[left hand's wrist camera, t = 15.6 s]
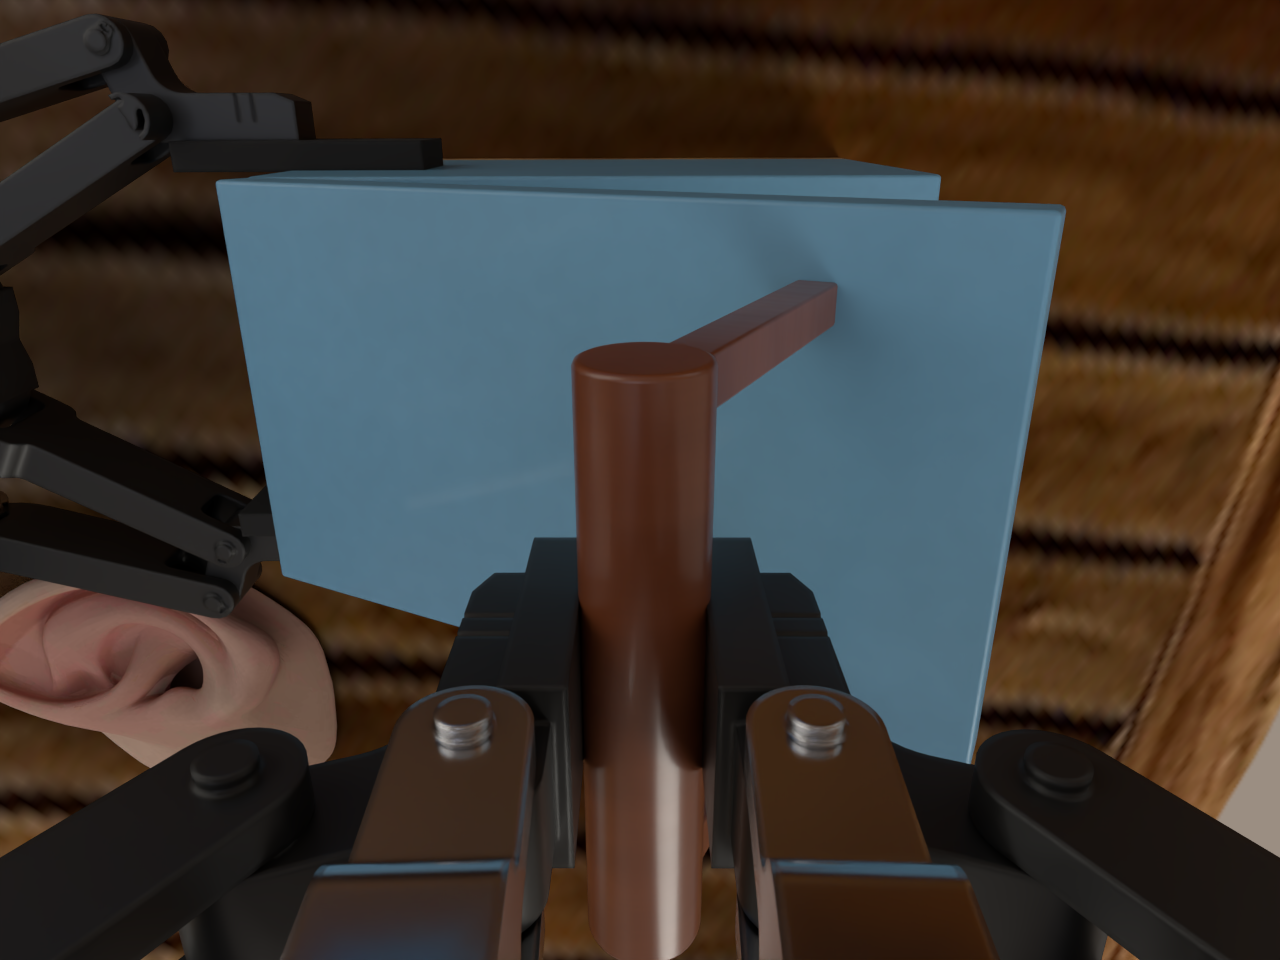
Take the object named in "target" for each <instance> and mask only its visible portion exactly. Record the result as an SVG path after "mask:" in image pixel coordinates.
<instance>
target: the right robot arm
mask: <svg viewBox="0 0 1280 960" xmlns="http://www.w3.org/2000/svg"><path fill="white" fill-rule="evenodd" d="M168 54H169V49H168V45H167V41H166V40H165V38H164V37H163V35H162V33H161V32H160V31H158V30H157V29H156V28H155V27H153V26H151V25H148V24H145V23H140V22H135V21H130V20H125V19H120V18H115V17H110V16H105V15H100V14H88V15H84V16H81V17H78V18H75V19H72V20H69V21H66V22H63V23H60V24H57V25H54V26H51V27H48V28H45V29H42V30H39V31H36V32H33V33H30V34H27V35H24V36H21V37H18V38H15V39H12V40H9V41H6V42H3V43H1V44H0V122H2V121H5V120H8V119H11V118H14V117H18V116H21V115H24V114H27V113H30V112H33V111H36V110H39V109H42V108H45V107H48V106H51V105H54V104H57V103H60V102H63V101H66V100H69V99H73V98H76V97H79V96H82V95H85V94H88V93H91V92H94V91H97V90H100V89H103V88H106V87H109V89H110V91H111V93H112V94H110V95H108V96H109V97H110V98H111V99H112V100H116V102H115V103H113V104H112V105H110V106H109V107H107V108H106V109H105V110H103V111H102V112H100V113H99V114H97V115H96V116H95V117H93V118H92V119H90V120H89V121H87V122H86V123H85V124H83V125H82V126H80V127H79V128H77V129H76V130H74V131H73V132H72V133H70V134H69V135H67V136H66V137H64V138H63V139H62V140H60V141H59V142H57V143H56V144H54V145H53V146H52V147H50V148H49V149H47V150H46V151H44V152H43V153H42V154H40V155H39V156H37V157H36V158H34V159H33V160H31V161H30V162H29V163H27V164H26V165H24V166H23V167H21V168H20V169H19V170H17V171H16V172H14V173H13V174H11V175H10V176H9V177H7V178H6V179H4V180H3V181H1V182H0V275H2V274H3V273H5V272H6V271H8V270H9V269H10V268H12V267H13V266H15V265H16V264H18V263H19V262H21V261H22V260H24V259H25V258H27V257H28V256H30V255H31V254H32V253H34V251H35V249H34V248H35V247H36V246H38V245H39V244H41V243H42V242H44V241H45V240H47V239H48V238H50V237H51V236H53V235H54V234H56V233H57V232H58V231H60V230H61V229H63V228H64V227H66V226H67V225H69V224H70V223H72V222H73V221H75V220H76V219H78V218H79V217H81V216H82V215H84V214H85V213H87V212H88V211H90V210H91V209H93V208H94V207H96V206H97V205H98V204H100V203H101V202H103V201H104V200H106V199H107V198H109V197H110V196H112V195H113V194H115V193H116V192H118V191H119V190H121V189H122V188H124V187H125V186H127V185H128V184H130V183H131V182H133V181H134V180H136V179H137V178H138V177H140V176H141V175H143V174H144V173H146V172H147V171H149V170H150V169H152V168H153V167H155V166H156V165H158V164H159V163H161V162H162V161H164V160H165V159H167V158H168V157H170V156H171V160H172V165H173V170H174V172H286V171H337V170H427V169H431V168H435V167H440V166H443V155H442V142H441V138H405V139H316V137H315V129H314V121H313V114H312V106H311V102H310V101H307V100H305V99H302V98H300V97H297V96H295V95H292V94H282V93H197V92H194V91H192V90H190V89H189V88H187V87H186V86H185V85H184V84H183V83H182V82H181V81H180V80H179V79H178V77H177V76H176V74H175V72H174V70H173V68H172V66H171V64H170V63H169V61H168ZM38 387H39V385H38V382H37V378H36V374H35V370H34V366H33V363H32V361H31V359H30V357H29V356H28V354H27V352H26V350H25V348H24V346H23V345H22V343H21V341H20V339H19V310H18V306H17V302H16V299H15V295H14V291H13V287H3V286H2V284H1V282H0V478H14V477H15V478H21V479H24V480H27V481H29V482H31V483H33V484H36V485H38V486H40V487H42V488H45V489H47V490H49V491H51V492H54V493H56V494H58V495H60V496H63V497H65V498H67V499H69V500H72V501H74V502H76V503H78V504H81V505H83V506H85V507H87V508H90V509H92V510H94V511H96V512H99V513H101V514H103V515H105V516H108V517H110V518H112V519H114V520H117V521H119V522H116V521H111V520H107V519H103V518H98V517H94V516H90V515H85V514H81V513H77V512H72V511H68V510H64V509H59V508H55V507H51V506H45V505H40V504H31V503H8V502H9V501H8V497H7V495H6V494H5V493H4V492H2V491H0V571H2V572H6V573H11V574H15V575H20V576H24V577H29V578H33V579H38V580H42V581H47V582H51V583H56V584H60V585H65V586H69V587H74V588H78V589H83V590H88V591H92V592H97V593H101V594H106V595H110V596H115V597H119V598H124V599H128V600H133V601H137V602H142V603H146V604H151V605H155V606H160V607H164V608H169V609H174V610H178V611H183V612H187V613H192V614H196V615H201V616H205V617H210V618H219V619H220V618H223V617H227V616H228V615H229V614H230V613H231V612H232V611H233V610H234V608H235V607H236V606H237V605H238V603H239V602H240V601H241V600H242V598H243V597H244V596H245V595H246V593H247V592H248V591H249V589H250V588H251V587H252V586H253V584H254V583H255V582H256V581H257V579H258V578H259V577H260V575H261V572H262V565H261V563H260V562H261V561H280V558H279V552H278V546H277V540H276V534H275V528H274V522H273V517H272V511H271V505H270V499H269V493H268V487H267V485H266V486H265V487H264V488H263V489H262V490H261V491H260V492H259V493H258V494H257V495H256V496H255V497H254V498H253V499H250V498H247V497H245V496H243V495H241V494H239V493H237V492H235V491H232V490H230V489H228V488H226V487H224V486H222V485H219V484H217V483H215V482H213V481H211V480H209V479H206V478H204V477H202V476H200V475H198V474H196V473H193V472H191V471H189V470H187V469H185V468H183V467H181V466H178V465H176V464H174V463H172V462H170V461H168V460H165V459H163V458H161V457H159V456H157V455H155V454H152V453H150V452H148V451H146V450H144V449H142V448H140V447H137V446H135V445H133V444H131V443H129V442H127V441H124V440H122V439H120V438H118V437H116V436H114V435H111V434H109V433H107V432H105V431H103V430H101V429H98V428H96V427H94V426H92V425H90V424H88V423H86V422H83V421H81V420H80V419H78V418H77V417H76V411H75V410H74V409H73V408H71V407H70V406H68V405H66V404H64V403H62V402H60V401H57V400H55V399H53V398H51V397H49V396H47V395H44V394H42V393H40V392H38V391H36V390H34V389H36V388H38ZM10 425H11V426H10ZM8 426H9V427H8ZM120 522H121V523H120Z"/></svg>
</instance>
